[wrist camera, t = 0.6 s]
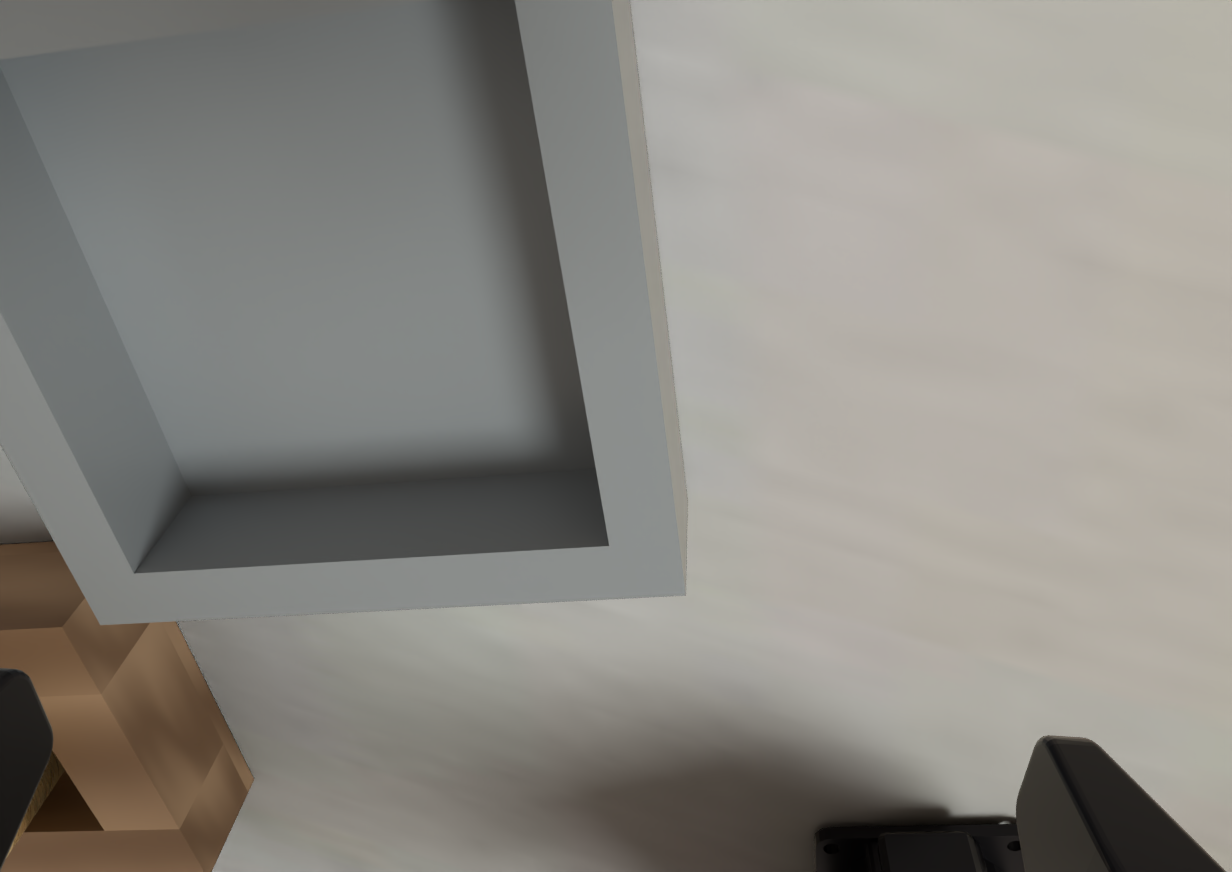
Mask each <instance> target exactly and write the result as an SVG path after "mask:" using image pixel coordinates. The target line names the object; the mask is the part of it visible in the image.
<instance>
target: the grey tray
mask: <svg viewBox="0 0 1232 872" xmlns="http://www.w3.org/2000/svg"><path fill="white" fill-rule="evenodd" d="M0 445H1V446H2V448H3V450H4V452H5V454H6V455H7V457H8V459H9V461H10V463H11V464H12V466H13V468H14V470H15V472H16V474H17V475H18V477H19V479H20V481H21V483H22V484H23V486H24V488H25V490H26V492H27V493H28V495H29V497H30V499H31V501H32V502H33V504H34V506H35V508H36V510H37V512H38V513H39V515H40V517H41V519H42V521H43V522H44V524H45V526H46V528H47V530H48V531H49V533H50V535H51V537H52V539H53V540H54V542H55V544H56V546H57V548H58V549H59V551H60V553H61V555H62V557H63V559H64V560H65V562H66V564H67V566H68V568H69V569H70V571H71V573H72V575H73V577H74V578H75V580H76V582H77V584H78V586H79V587H80V589H81V591H82V593H83V595H84V597H85V598H86V600H87V602H88V604H89V606H90V607H91V609H92V611H93V613H94V615H95V616H96V618H97V620H98V622H99V624H100V625H114V624H134V623H154V622H173V621H193V620H213V619H232V618H252V617H272V616H291V615H311V614H331V613H351V612H370V611H390V610H410V609H429V608H449V607H469V606H488V605H508V604H528V603H547V602H567V601H587V600H607V599H626V598H646V597H666V596H685V595H686V570H687V520H688V498H687V489H686V481H685V472H684V463H683V455H682V446H681V437H680V429H679V420H678V412H677V403H676V394H675V386H674V377H673V368H672V360H671V351H670V343H669V334H668V325H667V317H666V308H665V299H664V291H663V282H662V273H661V265H660V256H659V248H658V239H657V230H656V222H655V213H654V204H653V196H652V187H651V179H650V170H649V161H648V153H647V144H646V135H645V127H644V118H643V110H642V101H641V92H640V84H639V75H638V66H637V58H636V49H635V40H634V32H633V23H632V15H631V6H630V0H0Z"/></svg>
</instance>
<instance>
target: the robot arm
mask: <svg viewBox="0 0 1232 872" xmlns="http://www.w3.org/2000/svg"><path fill="white" fill-rule="evenodd" d="M52 748H53V730H52V727H51V724H50V722H49V720H48V717H47V715H46V713H45V710H44V708H43V706H42V703H41V701H40V699H39V697H38V694H37V692H36V690H35V687H34V685H33V683H32V681H31V679H30V677H29V676H28V675H27V674H26V673H24V672H23V671H22V670H18V669H9V668H0V871H1V869H2V866H3V864H4V862H5V860H6V857H7V855H8V853H9V850H10V848H11V846H12V844H13V841H14V839H15V837H16V834H17V832H18V830H19V828H20V825H21V823H22V821H23V818H24V816H25V814H26V812H27V809H28V807H29V805H30V802H31V800H32V798H33V796H34V793H35V791H36V789H37V786H38V784H39V782H40V780H41V777H42V775H43V773H44V770H45V768H46V766H47V764H48V761H49V759H50V756H51V752H52ZM1016 821H1017V824H991V825H938V826H885V827H832V828H824V829H821V830H819V831H818V832H817V833H816V834H815V836H814V848H815V872H1226V871H1225V870H1224V869H1223V868H1222V867H1221V866H1220V865H1219V864H1218V863H1217V862H1216V861H1215V860H1214V859H1213V858H1212V857H1211V856H1210V855H1209V854H1208V853H1207V852H1206V851H1205V850H1204V849H1203V848H1202V847H1201V846H1200V845H1199V844H1198V843H1197V842H1196V841H1195V840H1194V839H1193V838H1192V837H1191V836H1190V835H1189V834H1188V833H1187V832H1186V831H1185V830H1184V829H1183V828H1182V827H1181V826H1180V825H1179V824H1178V823H1177V822H1176V821H1175V820H1174V819H1173V818H1172V817H1171V816H1170V815H1169V814H1168V813H1167V812H1166V811H1165V810H1164V809H1163V808H1162V807H1161V806H1160V805H1159V804H1158V803H1157V802H1156V801H1155V800H1153V799H1152V798H1151V797H1150V796H1149V795H1148V794H1147V793H1146V792H1145V791H1144V790H1143V789H1142V788H1141V787H1140V786H1139V785H1138V784H1137V783H1136V782H1135V781H1134V780H1133V779H1132V778H1131V777H1130V776H1129V775H1128V774H1127V773H1126V772H1125V771H1124V770H1123V769H1122V768H1121V767H1120V766H1119V765H1118V764H1117V763H1116V762H1115V761H1114V760H1113V759H1112V758H1111V757H1110V756H1109V755H1108V754H1107V753H1106V752H1105V751H1104V750H1103V749H1102V748H1101V747H1100V746H1099V745H1098V744H1096V743H1095V742H1093V741H1092V740H1089V739H1087V738H1081V737H1066V736H1050V735H1048V736H1043V737H1042V738H1040V739H1039V740H1038V741H1037V743H1036V745H1035V747H1034V750H1033V753H1032V756H1031V758H1030V761H1029V764H1028V767H1027V770H1026V773H1025V776H1024V779H1023V782H1022V785H1021V788H1020V791H1019V794H1018V798H1017V804H1016Z"/></svg>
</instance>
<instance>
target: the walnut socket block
mask: <svg viewBox="0 0 1232 872" xmlns="http://www.w3.org/2000/svg"><path fill="white" fill-rule="evenodd" d="M0 668H9V669H18V670H22V671H23V672H24V673H26V674H27V675H28V676H29V677H30V679H31V681H32V683H33V685H34V687H35V690H36V692H37V694H38V697H39V699H40V701H41V703H42V706H43V708H44V710H45V713H46V715H47V717H48V720H49V722H50V724H51V727H52V730H53V748H52V750H53V752H54V753H55V755H56V757H57V758H58V760H59V761H60V763H61V764H62V766H63V767H64V769H65V771H64V772H63V774H62V775H61V777H60V778H59V780H58V781H57V783H56V784H55V786H54V787H53V789H52V790H51V792H50V793H49V795H48V796H47V798H46V799H45V801H44V802H43V804H42V805H41V807H40V809H39V810H38V812H37V813H36V815H35V816H34V818H33V819H32V821H31V822H30V824H29V825H28V827H27V828H26V830H25V831H24V833H23V834H22V836H21V837H20V839H19V840H18V842H17V843H16V845H15V846H14V848H13V849H12V851H11V852H10V854H9V855H8V857H7V858H6V860H5V862H4V864H3V866H2V869H1V871H0V872H212V869H213V867H214V865H215V863H216V861H217V859H218V856H219V854H220V852H221V850H222V848H223V846H224V843H225V841H226V839H227V837H228V835H229V833H230V831H231V828H232V826H233V824H234V822H235V820H236V818H237V815H238V813H239V811H240V809H241V807H242V805H243V802H244V800H245V798H246V796H247V794H248V792H249V789H250V787H251V785H252V783H253V781H254V778H253V776H252V774H251V772H250V770H249V768H248V766H247V764H246V762H245V760H244V758H243V756H242V754H241V752H240V750H239V748H238V746H237V744H236V742H235V740H234V738H233V736H232V734H231V732H230V730H229V728H228V726H227V724H226V722H225V720H224V718H223V716H222V714H221V712H220V710H219V708H218V706H217V704H216V702H215V700H214V698H213V696H212V694H211V692H210V690H209V688H208V686H207V684H206V682H205V680H204V678H203V676H202V674H201V671H200V669H199V667H198V665H197V663H196V661H195V659H194V657H193V655H192V653H191V651H190V649H189V647H188V645H187V643H186V641H185V639H184V637H183V635H182V633H181V631H180V629H179V627H178V625H177V623H176V621H173V622H154V623H134V624H114V625H100V624H99V622H98V620H97V618H96V616H95V615H94V613H93V611H92V609H91V607H90V606H89V604H88V602H87V600H86V598H85V597H84V595H83V593H82V591H81V589H80V587H79V586H78V584H77V582H76V580H75V578H74V577H73V575H72V573H71V571H70V569H69V568H68V566H67V564H66V562H65V560H64V559H63V557H62V555H61V553H60V551H59V549H58V548H57V546H56V544H55V542H54V541H52V542H36V543H20V544H5V545H0Z"/></svg>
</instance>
